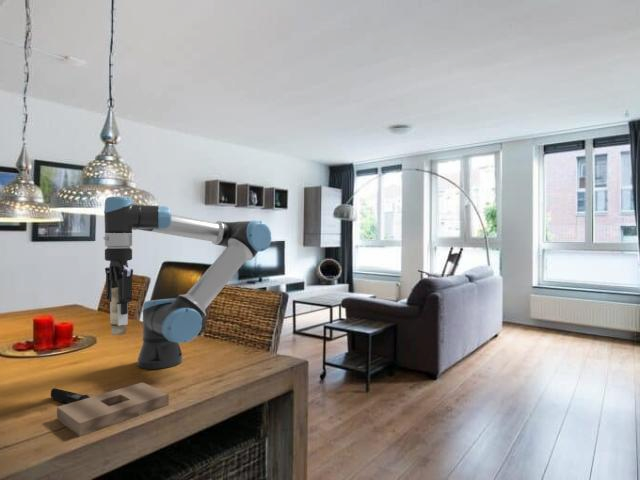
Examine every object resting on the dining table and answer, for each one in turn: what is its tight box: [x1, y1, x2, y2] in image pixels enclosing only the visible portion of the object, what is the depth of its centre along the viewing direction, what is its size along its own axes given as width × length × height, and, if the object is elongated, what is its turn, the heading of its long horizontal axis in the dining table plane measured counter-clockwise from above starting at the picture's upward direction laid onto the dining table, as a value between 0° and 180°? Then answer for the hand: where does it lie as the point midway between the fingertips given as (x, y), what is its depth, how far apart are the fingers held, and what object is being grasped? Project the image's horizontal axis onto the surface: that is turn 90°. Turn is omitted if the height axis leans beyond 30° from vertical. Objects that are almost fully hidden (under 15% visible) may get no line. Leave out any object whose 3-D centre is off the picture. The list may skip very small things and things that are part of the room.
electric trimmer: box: [50, 387, 91, 404], centre depth 110 cm, size 4×16×3 cm, turn 64°
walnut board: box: [56, 382, 170, 437], centre depth 104 cm, size 22×14×3 cm, turn 141°
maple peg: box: [110, 287, 127, 336], centre depth 122 cm, size 4×4×14 cm
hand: (119, 323), depth 122 cm, fingers closed on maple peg, 4 cm apart
